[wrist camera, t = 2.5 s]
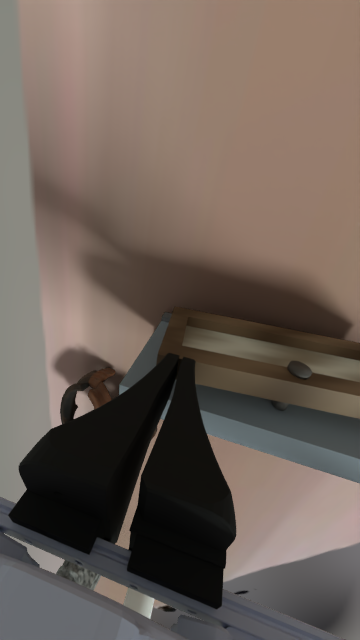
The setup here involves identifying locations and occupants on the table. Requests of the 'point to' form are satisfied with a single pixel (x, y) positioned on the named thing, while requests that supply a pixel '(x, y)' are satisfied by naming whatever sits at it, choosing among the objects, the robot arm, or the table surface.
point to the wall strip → (266, 421)
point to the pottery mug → (96, 394)
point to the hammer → (78, 575)
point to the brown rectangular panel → (267, 361)
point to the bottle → (139, 602)
